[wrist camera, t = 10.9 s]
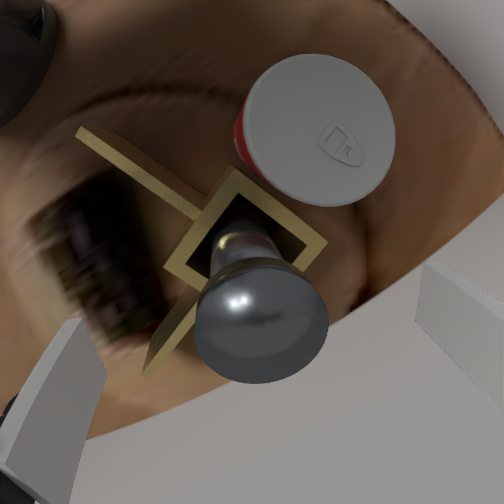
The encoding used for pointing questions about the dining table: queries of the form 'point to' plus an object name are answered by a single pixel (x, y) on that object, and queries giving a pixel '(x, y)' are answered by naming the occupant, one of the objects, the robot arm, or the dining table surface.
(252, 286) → the pin
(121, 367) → the dining table surface
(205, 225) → the hinge
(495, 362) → the robot arm
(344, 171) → the canned food
